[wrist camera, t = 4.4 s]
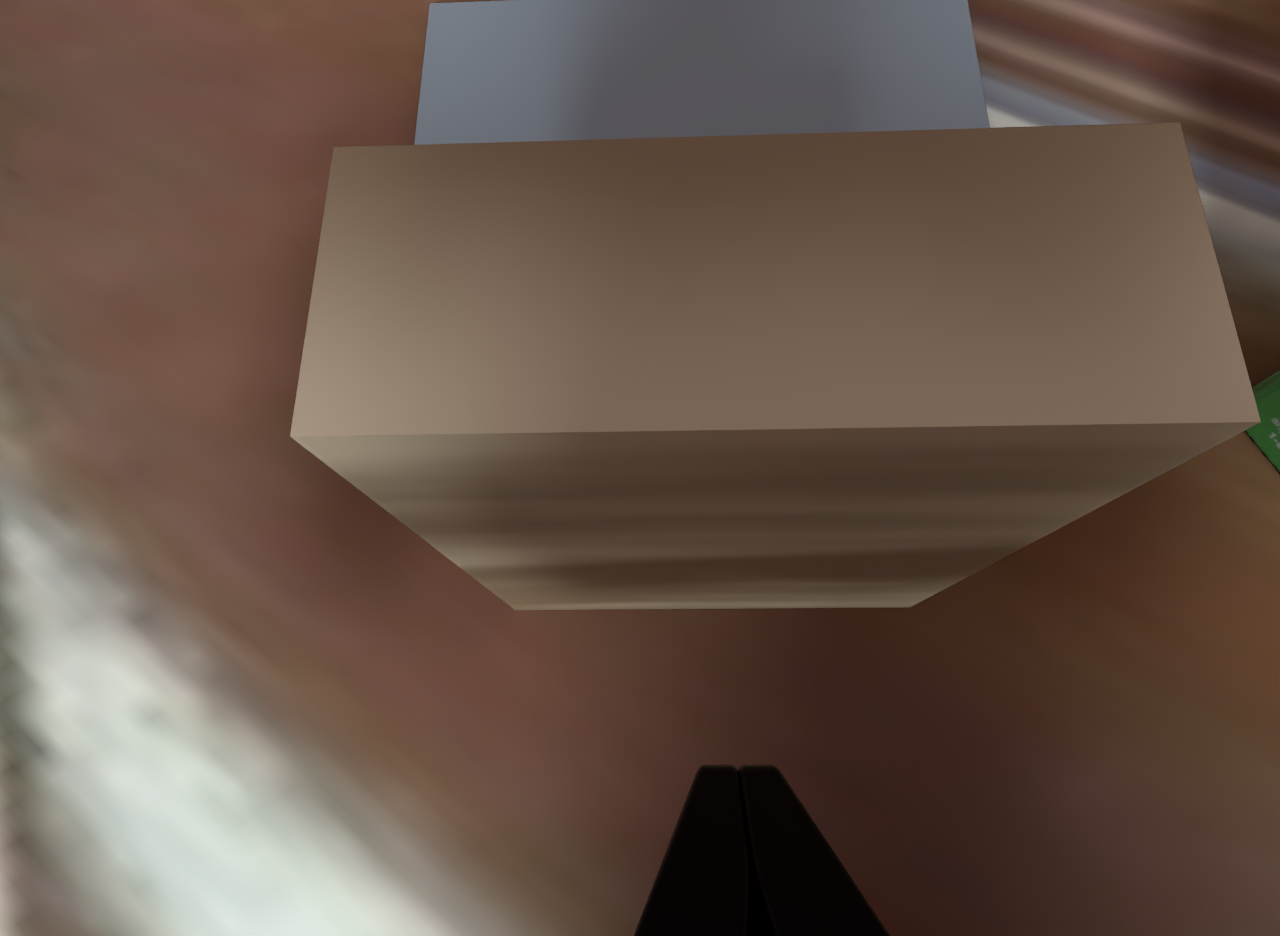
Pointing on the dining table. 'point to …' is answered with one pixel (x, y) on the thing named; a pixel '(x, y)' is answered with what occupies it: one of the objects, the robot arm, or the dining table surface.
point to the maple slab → (763, 354)
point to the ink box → (1268, 418)
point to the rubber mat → (695, 69)
